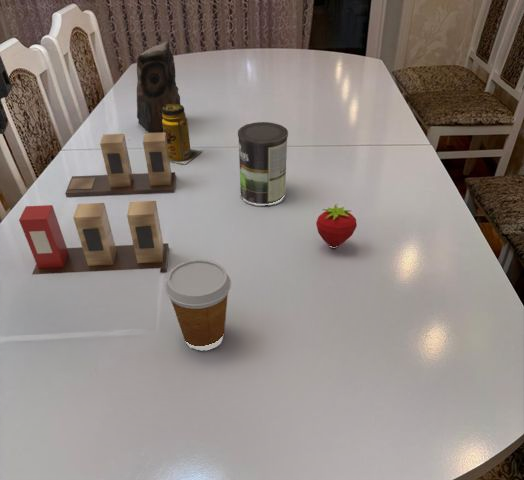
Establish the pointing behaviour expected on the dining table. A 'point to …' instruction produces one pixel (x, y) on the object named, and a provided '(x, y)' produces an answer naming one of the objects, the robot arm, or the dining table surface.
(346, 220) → the strawberry
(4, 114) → the robot arm
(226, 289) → the disposable coffee cup
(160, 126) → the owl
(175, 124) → the condiment
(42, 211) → the red labeled block
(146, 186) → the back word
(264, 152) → the coffee can
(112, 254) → the front word
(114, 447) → the dining table surface
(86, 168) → the dining table surface
